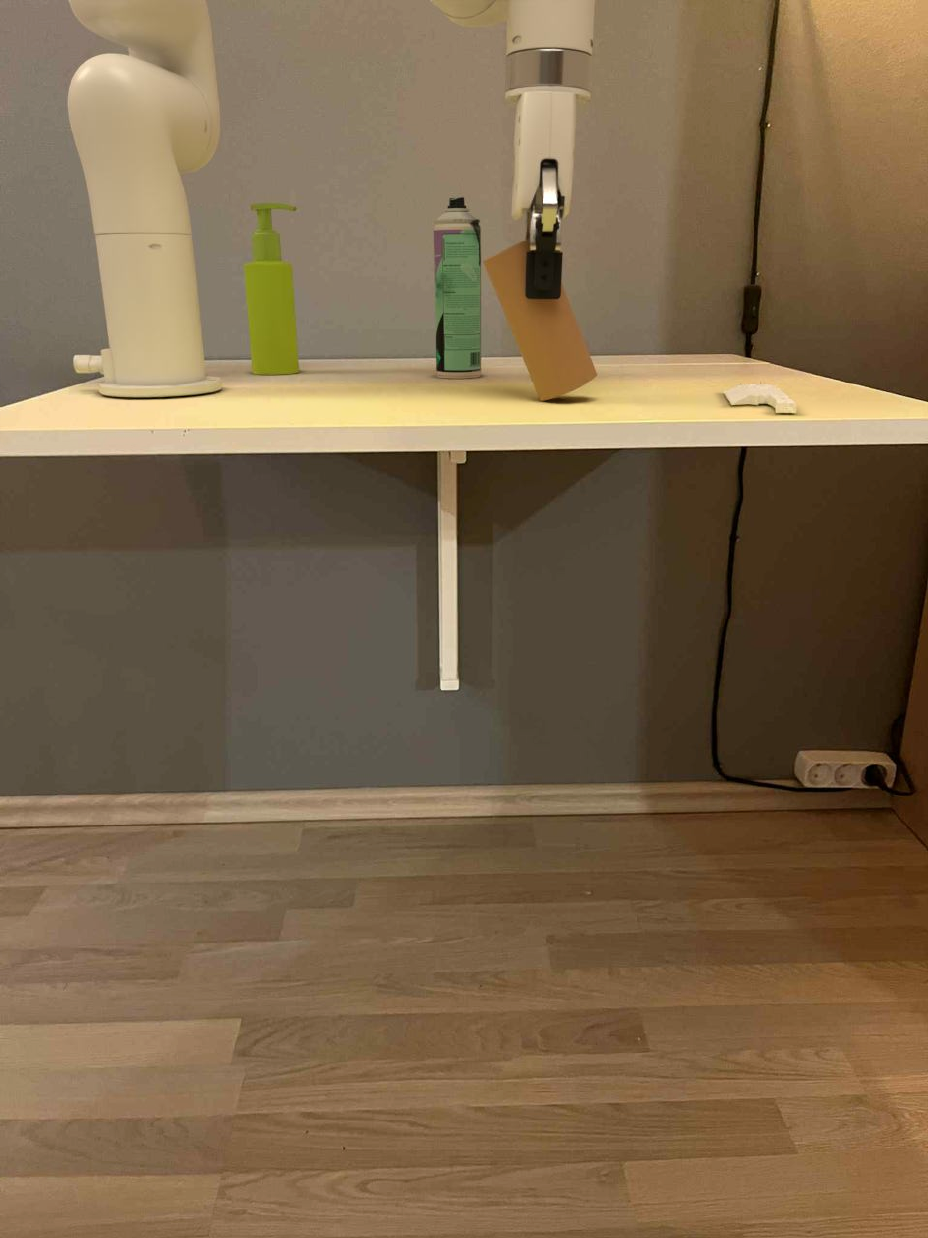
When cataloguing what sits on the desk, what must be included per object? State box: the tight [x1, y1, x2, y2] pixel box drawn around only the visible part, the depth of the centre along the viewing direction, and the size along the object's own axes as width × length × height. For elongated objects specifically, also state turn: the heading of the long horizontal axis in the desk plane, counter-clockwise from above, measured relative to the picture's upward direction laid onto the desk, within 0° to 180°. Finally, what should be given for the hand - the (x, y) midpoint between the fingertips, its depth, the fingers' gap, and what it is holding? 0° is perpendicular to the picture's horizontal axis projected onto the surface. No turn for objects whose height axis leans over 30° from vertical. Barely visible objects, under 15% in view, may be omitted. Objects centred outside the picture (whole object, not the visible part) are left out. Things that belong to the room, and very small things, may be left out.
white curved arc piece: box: [722, 382, 797, 414], centre depth 89 cm, size 5×15×1 cm, turn 169°
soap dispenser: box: [243, 202, 300, 376], centre depth 119 cm, size 6×7×20 cm
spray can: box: [433, 196, 482, 380], centre depth 112 cm, size 6×6×20 cm
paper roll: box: [482, 235, 598, 401], centre depth 90 cm, size 14×6×6 cm
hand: (540, 295), depth 90 cm, fingers closed on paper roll, 6 cm apart
